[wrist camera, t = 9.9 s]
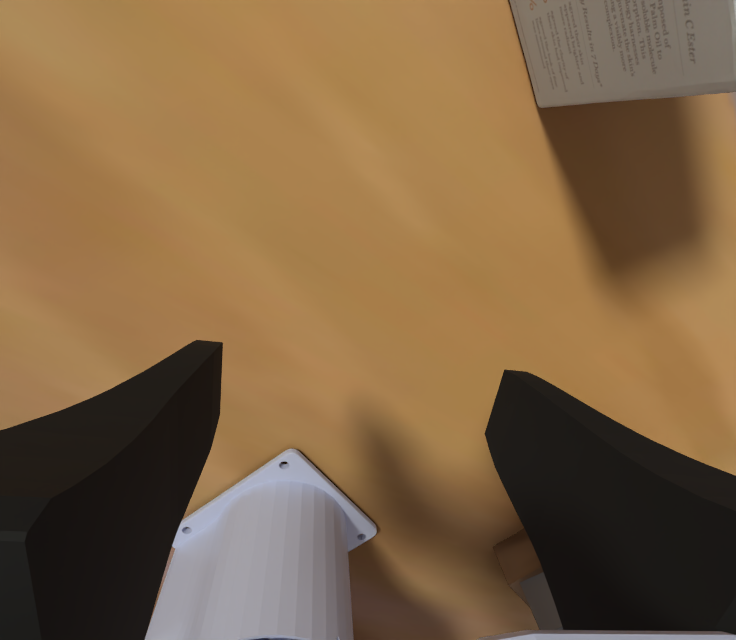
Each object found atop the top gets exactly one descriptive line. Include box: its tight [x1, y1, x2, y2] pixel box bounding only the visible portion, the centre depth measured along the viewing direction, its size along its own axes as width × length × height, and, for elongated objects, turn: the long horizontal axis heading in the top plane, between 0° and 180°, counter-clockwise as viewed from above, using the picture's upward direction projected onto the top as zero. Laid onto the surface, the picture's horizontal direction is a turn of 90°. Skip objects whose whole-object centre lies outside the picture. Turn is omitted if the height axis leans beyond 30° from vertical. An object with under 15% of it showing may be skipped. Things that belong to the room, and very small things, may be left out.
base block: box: [493, 528, 543, 607], centre depth 29 cm, size 6×6×3 cm
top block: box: [520, 572, 563, 630], centre depth 26 cm, size 5×5×3 cm
